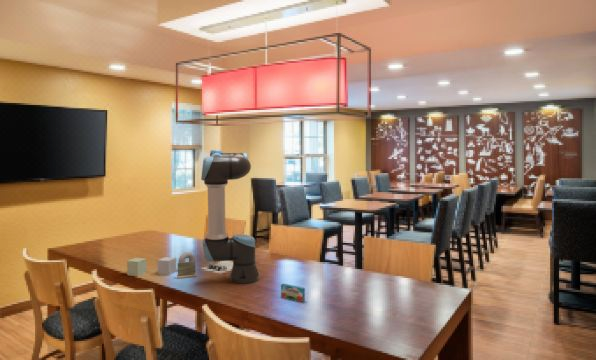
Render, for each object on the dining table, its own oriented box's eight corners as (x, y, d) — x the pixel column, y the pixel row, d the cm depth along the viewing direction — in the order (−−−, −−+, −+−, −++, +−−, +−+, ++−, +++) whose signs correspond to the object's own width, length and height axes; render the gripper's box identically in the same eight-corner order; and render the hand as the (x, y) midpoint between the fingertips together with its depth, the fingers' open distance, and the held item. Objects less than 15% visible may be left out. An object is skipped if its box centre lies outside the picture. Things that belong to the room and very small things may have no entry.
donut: (180, 271, 229) (180, 254, 229) (177, 270, 232) (177, 253, 231) (196, 268, 236) (196, 251, 236) (193, 267, 239) (193, 250, 238)
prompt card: (196, 276, 220) (196, 262, 219) (177, 278, 216) (176, 264, 216) (195, 274, 223) (195, 260, 223) (176, 276, 220) (176, 262, 220)
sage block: (146, 272, 228) (146, 258, 227) (138, 276, 221) (137, 261, 221) (136, 271, 230) (135, 257, 229) (127, 275, 223) (127, 260, 223)
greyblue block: (176, 271, 229) (176, 257, 229) (168, 275, 223) (168, 261, 222) (165, 270, 231) (165, 257, 231) (157, 274, 225) (157, 260, 224)
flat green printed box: (304, 301, 183) (304, 287, 183) (302, 302, 182) (302, 288, 181) (282, 296, 190) (282, 283, 189) (280, 297, 188) (280, 284, 188)
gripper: (227, 175, 251) (228, 213, 252) (216, 174, 260) (216, 211, 262) (217, 175, 245) (217, 214, 247) (205, 174, 255) (206, 212, 256)
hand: (217, 212), depth 254 cm, fingers closed
